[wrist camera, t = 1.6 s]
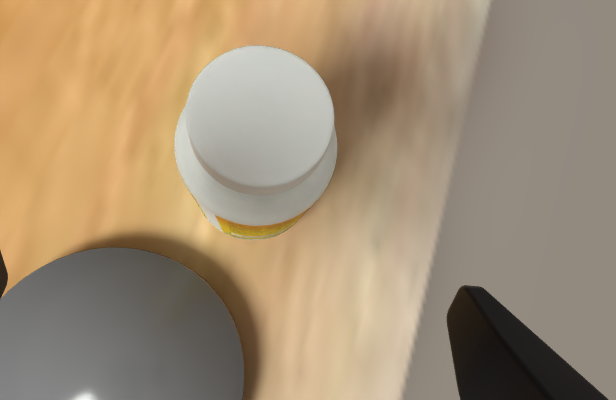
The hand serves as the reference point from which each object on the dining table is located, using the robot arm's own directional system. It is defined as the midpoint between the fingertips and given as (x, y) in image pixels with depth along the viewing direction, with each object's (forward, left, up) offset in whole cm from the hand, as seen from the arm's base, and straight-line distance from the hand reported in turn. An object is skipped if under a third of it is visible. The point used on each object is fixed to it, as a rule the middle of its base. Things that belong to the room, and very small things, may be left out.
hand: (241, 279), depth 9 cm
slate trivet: (-5, +5, -12) cm, 14 cm away
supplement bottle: (+4, 0, -12) cm, 13 cm away
